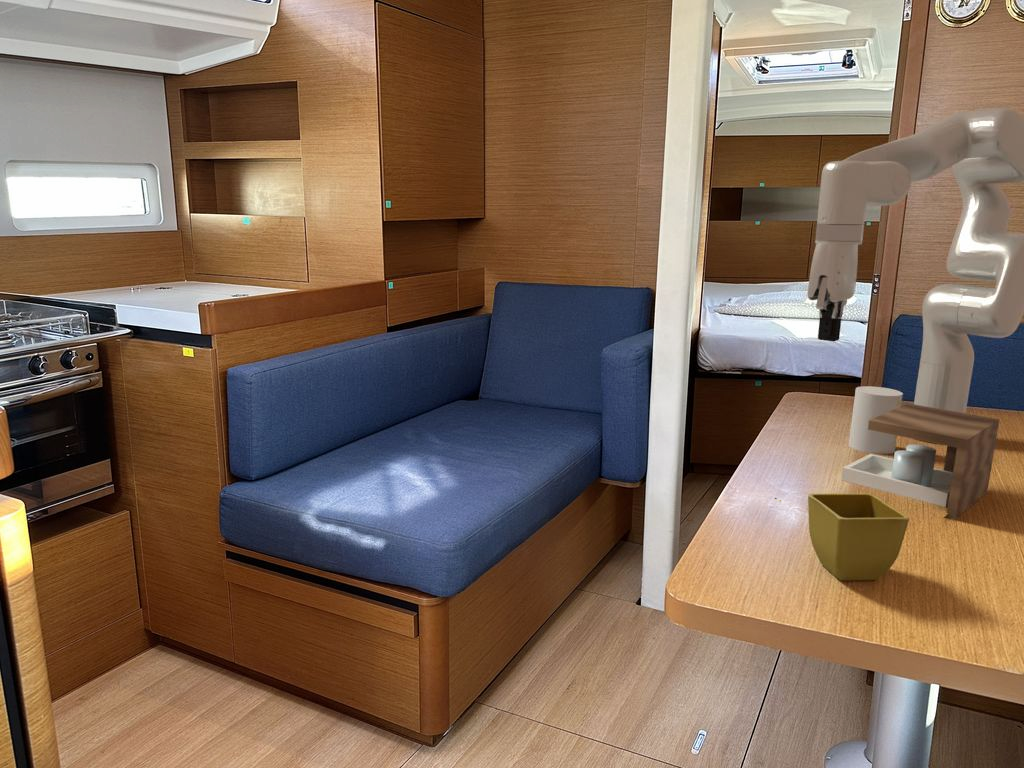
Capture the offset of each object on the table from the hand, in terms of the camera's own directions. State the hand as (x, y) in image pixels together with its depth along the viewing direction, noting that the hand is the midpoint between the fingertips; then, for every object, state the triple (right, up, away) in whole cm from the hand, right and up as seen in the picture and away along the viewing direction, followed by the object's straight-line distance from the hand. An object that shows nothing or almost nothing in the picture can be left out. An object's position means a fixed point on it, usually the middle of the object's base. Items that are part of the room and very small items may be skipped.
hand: (828, 339), depth 137 cm
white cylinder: (+13, -21, +12) cm, 28 cm away
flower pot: (-14, -32, -40) cm, 53 cm away
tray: (+9, -25, -9) cm, 28 cm away
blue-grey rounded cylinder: (+8, -25, -12) cm, 29 cm away
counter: (+11, -26, -11) cm, 30 cm away
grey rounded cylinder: (+11, -24, -8) cm, 28 cm away
